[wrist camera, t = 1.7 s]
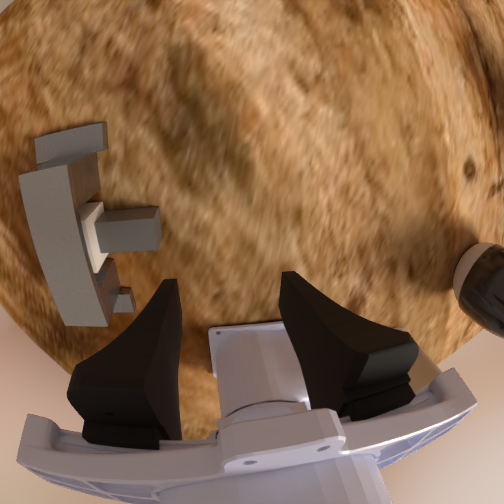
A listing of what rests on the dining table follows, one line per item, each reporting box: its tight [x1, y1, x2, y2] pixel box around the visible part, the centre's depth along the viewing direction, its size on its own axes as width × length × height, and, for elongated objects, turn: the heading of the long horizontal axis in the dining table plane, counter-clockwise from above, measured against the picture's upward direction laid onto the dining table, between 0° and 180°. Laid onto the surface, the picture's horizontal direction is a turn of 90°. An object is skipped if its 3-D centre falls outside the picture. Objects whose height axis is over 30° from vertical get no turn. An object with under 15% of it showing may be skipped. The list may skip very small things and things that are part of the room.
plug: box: [79, 201, 162, 273], centre depth 18 cm, size 8×4×4 cm, turn 88°
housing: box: [18, 122, 136, 327], centre depth 17 cm, size 6×16×5 cm, turn 178°
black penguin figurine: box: [453, 243, 504, 339], centre depth 23 cm, size 10×10×15 cm
